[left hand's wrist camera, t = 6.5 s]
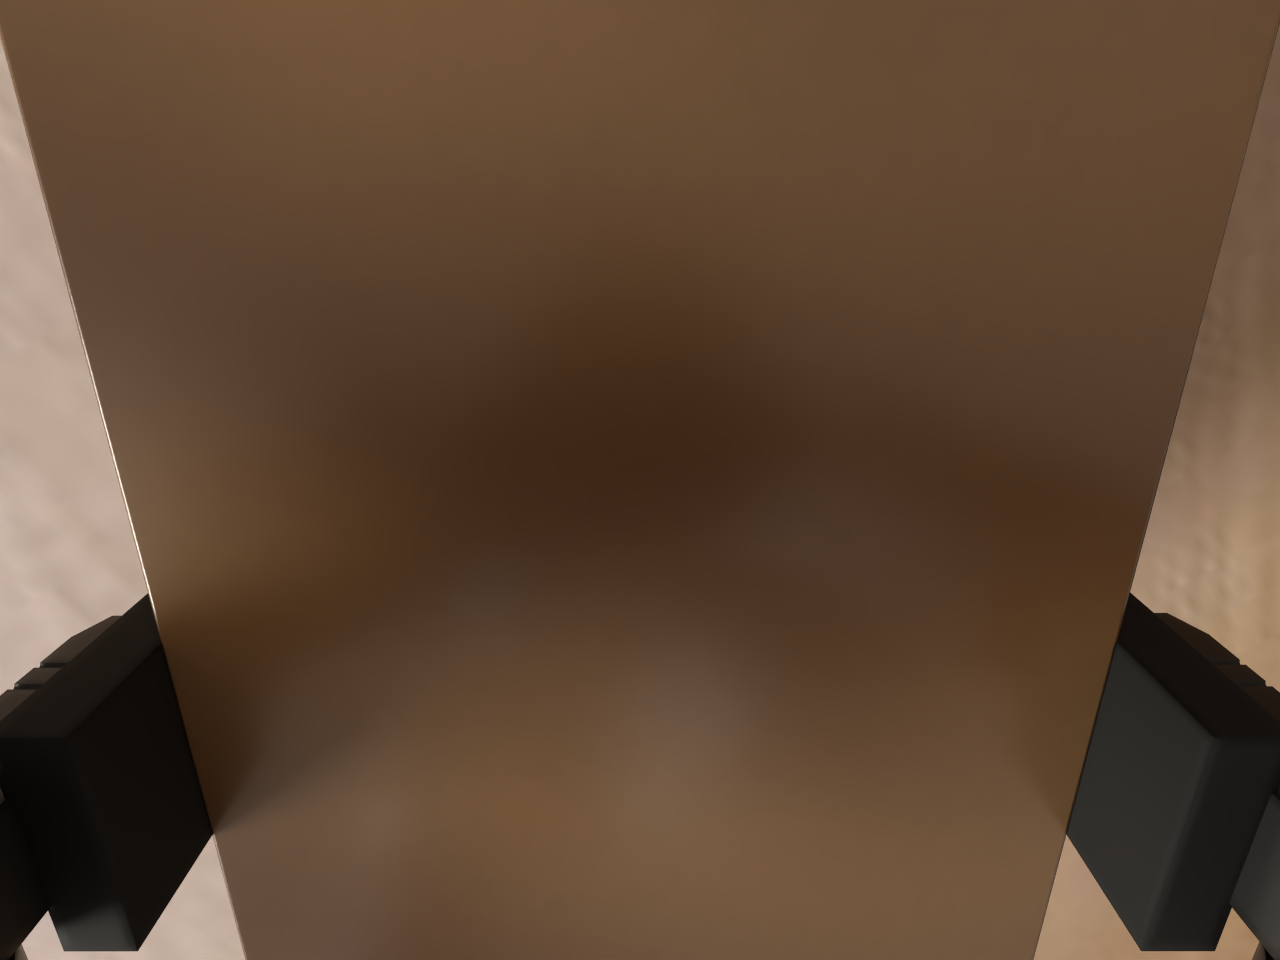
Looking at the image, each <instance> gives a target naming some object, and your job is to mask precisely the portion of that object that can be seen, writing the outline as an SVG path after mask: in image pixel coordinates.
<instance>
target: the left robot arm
mask: <svg viewBox="0 0 1280 960" xmlns="http://www.w3.org/2000/svg"><path fill="white" fill-rule="evenodd" d="M1239 661H1240V660H1239V659H1238V658H1237V657H1236V656H1234V655H1233V654H1232V653H1231V652H1230V651H1228V650H1227V649H1226V648H1225V647H1223V646H1222V645H1221V644H1220V643H1219V642H1217V641H1216V640H1215V639H1214V638H1212V637H1211V636H1210V635H1209V634H1207V633H1205V632H1203V631H1201V630H1199V629H1197V628H1195V627H1193V626H1191V625H1189V624H1187V623H1186V622H1184V621H1182V620H1180V619H1178V618H1176V617H1174V616H1172V615H1170V614H1168V613H1153V612H1152V611H1151V610H1150V609H1149V608H1147V607H1146V606H1145V605H1144V604H1143V603H1142V602H1140V601H1139V600H1138V599H1137V598H1136V597H1135V596H1134V595H1132V594H1131V593H1130V594H1129V598H1128V601H1127V605H1126V609H1125V613H1124V617H1123V620H1122V624H1121V628H1120V632H1119V636H1118V639H1117V643H1116V647H1115V651H1114V655H1113V658H1112V662H1111V666H1110V670H1109V674H1108V677H1107V681H1106V685H1105V689H1104V693H1103V696H1102V700H1101V704H1100V708H1099V712H1098V715H1097V719H1096V723H1095V727H1094V731H1093V734H1092V738H1091V742H1090V746H1089V750H1088V753H1087V757H1086V761H1085V765H1084V769H1083V772H1082V776H1081V780H1080V784H1079V788H1078V791H1077V795H1076V799H1075V803H1074V807H1073V811H1072V814H1071V818H1070V822H1069V826H1068V830H1067V833H1066V834H1067V836H1068V837H1069V839H1070V840H1071V842H1072V844H1073V845H1074V847H1075V848H1076V850H1077V851H1078V853H1079V855H1080V856H1081V858H1082V859H1083V861H1084V862H1085V864H1086V865H1087V867H1088V869H1089V870H1090V872H1091V873H1092V875H1093V876H1094V878H1095V880H1096V881H1097V883H1098V884H1099V886H1100V887H1101V889H1102V890H1103V892H1104V894H1105V895H1106V897H1107V898H1108V900H1109V901H1110V903H1111V905H1112V906H1113V908H1114V909H1115V911H1116V912H1117V914H1118V915H1119V917H1120V919H1121V920H1122V922H1123V923H1124V925H1125V926H1126V928H1127V930H1128V931H1129V933H1130V934H1131V936H1132V937H1133V939H1134V940H1135V942H1136V944H1137V945H1138V947H1139V948H1140V950H1141V951H1215V949H1216V947H1217V944H1218V942H1219V939H1220V936H1221V934H1222V931H1223V929H1224V926H1225V924H1226V921H1227V919H1228V916H1229V913H1230V911H1231V908H1233V909H1234V910H1235V911H1236V913H1237V914H1238V915H1239V916H1240V918H1241V919H1242V920H1243V921H1244V923H1245V924H1246V925H1247V926H1248V928H1249V929H1250V930H1251V931H1252V933H1253V934H1254V935H1255V936H1256V938H1257V939H1258V940H1259V941H1260V942H1259V944H1258V947H1257V949H1256V951H1255V954H1254V956H1253V958H1252V960H1280V692H1278V691H1277V690H1276V689H1275V688H1273V687H1272V686H1266V684H1265V680H1264V679H1262V678H1261V677H1260V676H1259V675H1258V674H1256V673H1255V672H1254V671H1253V670H1251V669H1250V668H1249V667H1248V666H1247V665H1240V662H1239ZM14 685H15V687H14V689H13V690H7V691H5V692H4V693H3V694H2V695H1V696H0V960H28V958H27V956H26V954H25V951H24V949H23V947H22V942H23V941H24V940H25V938H26V937H27V936H28V935H29V933H30V932H31V931H32V930H33V928H34V927H35V926H36V925H37V923H38V922H39V921H40V920H41V918H42V917H43V916H44V915H45V913H46V912H47V911H49V914H50V916H51V919H52V921H53V924H54V927H55V929H56V932H57V934H58V937H59V939H60V942H61V944H62V947H63V950H64V951H138V950H139V948H140V947H141V945H142V944H143V942H144V941H145V939H146V938H147V936H148V934H149V933H150V931H151V930H152V928H153V927H154V925H155V923H156V922H157V920H158V919H159V917H160V916H161V914H162V913H163V911H164V909H165V908H166V906H167V905H168V903H169V902H170V900H171V898H172V897H173V895H174V894H175V892H176V891H177V889H178V888H179V886H180V884H181V883H182V881H183V880H184V878H185V877H186V875H187V873H188V872H189V870H190V869H191V867H192V866H193V864H194V863H195V861H196V859H197V858H198V856H199V855H200V853H201V852H202V850H203V848H204V847H205V845H206V844H207V842H208V841H209V839H210V838H211V836H212V831H211V827H210V823H209V820H208V816H207V812H206V808H205V805H204V801H203V797H202V793H201V790H200V786H199V782H198V778H197V775H196V771H195V767H194V763H193V759H192V756H191V752H190V748H189V744H188V741H187V737H186V733H185V729H184V726H183V722H182V718H181V714H180V710H179V707H178V703H177V699H176V695H175V692H174V688H173V684H172V680H171V677H170V673H169V669H168V665H167V661H166V658H165V654H164V650H163V646H162V643H161V639H160V635H159V631H158V628H157V624H156V620H155V616H154V613H153V609H152V605H151V601H150V597H149V594H147V595H145V596H144V597H143V598H142V599H141V600H140V601H139V602H137V603H136V604H135V605H134V606H133V607H132V608H130V609H129V610H128V611H127V612H126V613H125V614H124V615H122V616H111V617H109V618H107V619H105V620H104V621H102V622H100V623H98V624H96V625H94V626H92V627H90V628H88V629H86V630H84V631H82V632H80V633H78V634H77V635H75V636H73V637H71V638H70V639H68V640H67V641H66V642H65V643H64V644H62V645H61V646H60V647H59V648H58V649H56V650H55V651H54V652H53V653H51V654H50V655H49V656H48V657H47V658H45V659H44V660H43V661H42V662H41V663H40V667H39V668H33V669H32V670H31V671H30V672H28V673H27V674H26V675H25V676H24V677H22V678H21V679H20V680H19V681H18V682H16V683H15V684H14Z"/></svg>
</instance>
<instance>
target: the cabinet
mask: <svg viewBox="0 0 1280 960" xmlns="http://www.w3.org/2000/svg"><path fill="white" fill-rule="evenodd" d="M1279 23H1280V0H0V36H1V40H2V44H3V47H4V51H5V55H6V59H7V62H8V66H9V70H10V74H11V78H12V81H13V85H14V89H15V93H16V96H17V100H18V104H19V108H20V111H21V115H22V119H23V123H24V127H25V130H26V134H27V138H28V142H29V145H30V149H31V153H32V157H33V160H34V164H35V168H36V172H37V176H38V179H39V183H40V187H41V191H42V194H43V198H44V202H45V206H46V209H47V213H48V217H49V221H50V224H51V228H52V232H53V236H54V240H55V243H56V247H57V251H58V255H59V258H60V262H61V266H62V270H63V273H64V277H65V281H66V285H67V289H68V292H69V296H70V300H71V304H72V307H73V311H74V315H75V319H76V322H77V326H78V330H79V334H80V338H81V341H82V345H83V349H84V353H85V356H86V360H87V364H88V368H89V371H90V375H91V379H92V383H93V386H94V390H95V394H96V398H97V402H98V405H99V409H100V413H101V417H102V420H103V424H104V428H105V432H106V435H107V439H108V443H109V447H110V451H111V454H112V458H113V462H114V466H115V469H116V473H117V477H118V481H119V484H120V488H121V492H122V496H123V499H124V503H125V507H126V511H127V515H128V518H129V522H130V526H131V530H132V533H133V537H134V541H135V545H136V548H137V552H138V556H139V560H140V564H141V567H142V571H143V575H144V579H145V582H146V586H147V590H148V594H149V597H150V601H151V605H152V609H153V613H154V616H155V620H156V624H157V628H158V631H159V635H160V639H161V643H162V646H163V650H164V654H165V658H166V661H167V665H168V669H169V673H170V677H171V680H172V684H173V688H174V692H175V695H176V699H177V703H178V707H179V710H180V714H181V718H182V722H183V726H184V729H185V733H186V737H187V741H188V744H189V748H190V752H191V756H192V759H193V763H194V767H195V771H196V775H197V778H198V782H199V786H200V790H201V793H202V797H203V801H204V805H205V808H206V812H207V816H208V820H209V823H210V827H211V831H212V835H213V839H214V842H215V846H216V850H217V854H218V857H219V861H220V865H221V869H222V872H223V876H224V880H225V884H226V888H227V891H228V895H229V899H230V903H231V906H232V910H233V914H234V918H235V921H236V925H237V929H238V933H239V936H240V940H241V944H242V948H243V952H244V955H245V959H246V960H1033V959H1034V955H1035V951H1036V947H1037V944H1038V940H1039V936H1040V932H1041V928H1042V925H1043V921H1044V917H1045V913H1046V909H1047V906H1048V902H1049V898H1050V894H1051V890H1052V887H1053V883H1054V879H1055V875H1056V871H1057V868H1058V864H1059V860H1060V856H1061V852H1062V849H1063V845H1064V841H1065V837H1066V833H1067V830H1068V826H1069V822H1070V818H1071V814H1072V811H1073V807H1074V803H1075V799H1076V795H1077V791H1078V788H1079V784H1080V780H1081V776H1082V772H1083V769H1084V765H1085V761H1086V757H1087V753H1088V750H1089V746H1090V742H1091V738H1092V734H1093V731H1094V727H1095V723H1096V719H1097V715H1098V712H1099V708H1100V704H1101V700H1102V696H1103V693H1104V689H1105V685H1106V681H1107V677H1108V674H1109V670H1110V666H1111V662H1112V658H1113V655H1114V651H1115V647H1116V643H1117V639H1118V636H1119V632H1120V628H1121V624H1122V620H1123V617H1124V613H1125V609H1126V605H1127V601H1128V598H1129V594H1130V590H1131V586H1132V582H1133V578H1134V575H1135V571H1136V567H1137V563H1138V559H1139V556H1140V552H1141V548H1142V544H1143V540H1144V537H1145V533H1146V529H1147V525H1148V521H1149V518H1150V514H1151V510H1152V506H1153V502H1154V499H1155V495H1156V491H1157V487H1158V483H1159V480H1160V476H1161V472H1162V468H1163V464H1164V461H1165V457H1166V453H1167V449H1168V445H1169V442H1170V438H1171V434H1172V430H1173V426H1174V423H1175V419H1176V415H1177V411H1178V407H1179V404H1180V400H1181V396H1182V392H1183V388H1184V384H1185V381H1186V377H1187V373H1188V369H1189V365H1190V362H1191V358H1192V354H1193V350H1194V346H1195V343H1196V339H1197V335H1198V331H1199V327H1200V324H1201V320H1202V316H1203V312H1204V308H1205V305H1206V301H1207V297H1208V293H1209V289H1210V286H1211V282H1212V278H1213V274H1214V270H1215V267H1216V263H1217V259H1218V255H1219V251H1220V248H1221V244H1222V240H1223V236H1224V232H1225V229H1226V225H1227V221H1228V217H1229V213H1230V210H1231V206H1232V202H1233V198H1234V194H1235V190H1236V187H1237V183H1238V179H1239V175H1240V171H1241V168H1242V164H1243V160H1244V156H1245V152H1246V149H1247V145H1248V141H1249V137H1250V133H1251V130H1252V126H1253V122H1254V118H1255V114H1256V111H1257V107H1258V103H1259V99H1260V95H1261V92H1262V88H1263V84H1264V80H1265V76H1266V73H1267V69H1268V65H1269V61H1270V57H1271V54H1272V50H1273V46H1274V42H1275V38H1276V35H1277V31H1278V27H1279Z"/></svg>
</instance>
